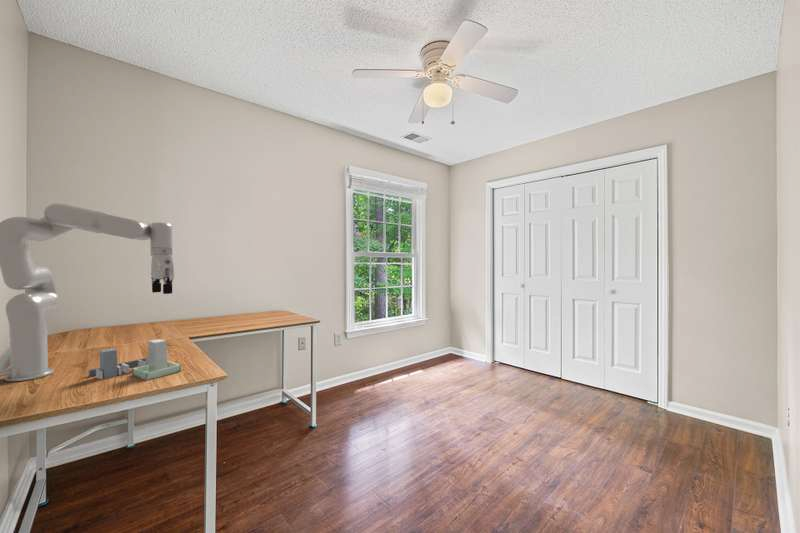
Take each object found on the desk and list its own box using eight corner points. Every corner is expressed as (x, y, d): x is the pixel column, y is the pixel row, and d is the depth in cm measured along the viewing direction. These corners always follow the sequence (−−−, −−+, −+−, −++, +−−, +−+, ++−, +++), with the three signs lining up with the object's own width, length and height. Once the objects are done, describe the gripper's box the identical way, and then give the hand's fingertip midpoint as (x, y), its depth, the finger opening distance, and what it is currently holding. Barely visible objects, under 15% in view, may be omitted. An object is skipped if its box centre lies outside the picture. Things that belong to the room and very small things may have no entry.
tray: (145, 380, 125) (145, 373, 125) (132, 374, 131) (132, 368, 131) (180, 371, 135) (180, 365, 135) (167, 366, 141) (167, 360, 141)
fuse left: (104, 378, 127) (103, 352, 126) (100, 376, 129) (99, 350, 128) (117, 375, 130) (117, 349, 130) (113, 373, 132) (112, 348, 132)
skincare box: (167, 370, 134) (167, 340, 133) (155, 374, 130) (154, 343, 130) (159, 368, 137) (159, 338, 137) (147, 371, 133) (147, 340, 133)
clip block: (99, 382, 123) (99, 373, 123) (88, 376, 129) (88, 368, 129) (173, 364, 144) (173, 357, 144) (160, 360, 150) (160, 353, 150)
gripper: (181, 252, 141) (182, 293, 142) (161, 252, 151) (162, 291, 151) (161, 252, 135) (161, 295, 136) (141, 252, 144) (142, 292, 145)
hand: (162, 292), depth 143 cm, fingers open, 9 cm apart
